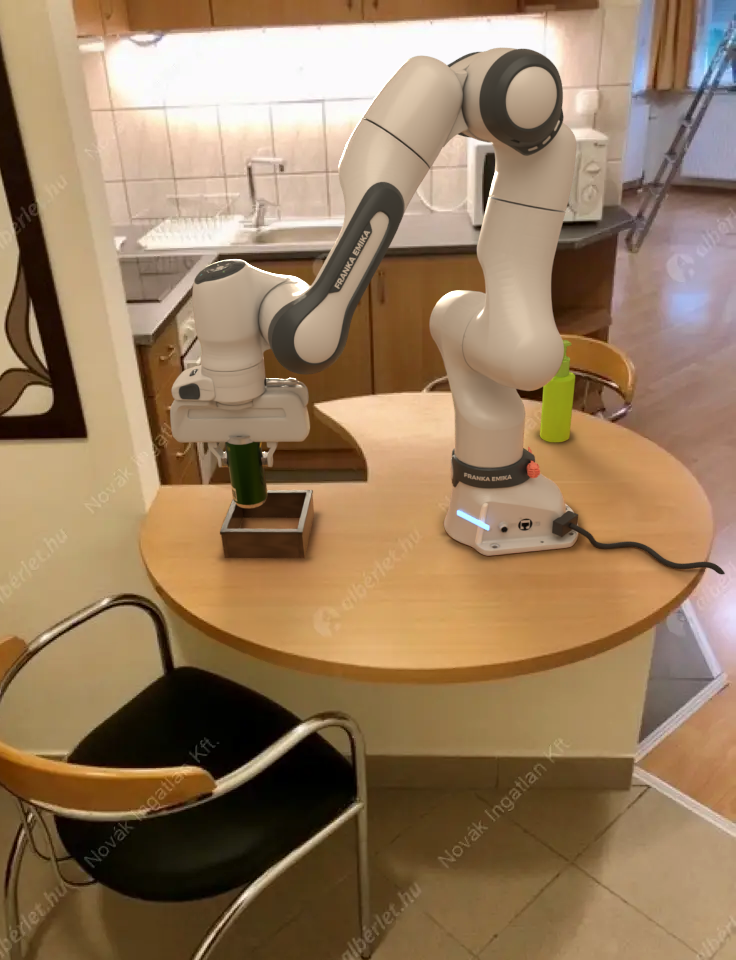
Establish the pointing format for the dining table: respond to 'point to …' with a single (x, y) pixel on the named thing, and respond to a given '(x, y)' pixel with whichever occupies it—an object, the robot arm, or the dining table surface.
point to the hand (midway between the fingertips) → (246, 465)
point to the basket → (270, 540)
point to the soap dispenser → (558, 403)
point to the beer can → (246, 471)
